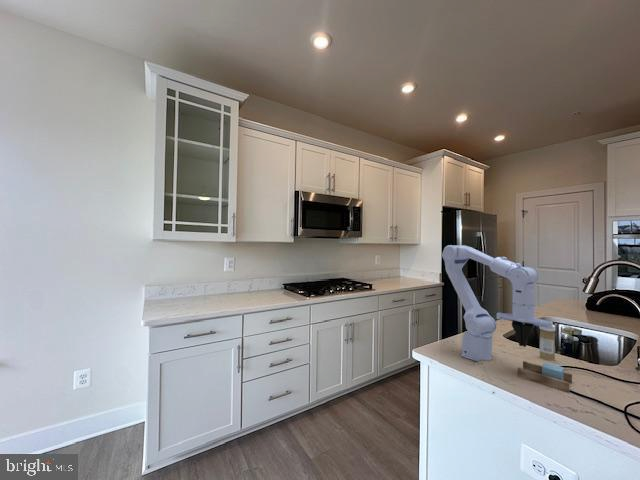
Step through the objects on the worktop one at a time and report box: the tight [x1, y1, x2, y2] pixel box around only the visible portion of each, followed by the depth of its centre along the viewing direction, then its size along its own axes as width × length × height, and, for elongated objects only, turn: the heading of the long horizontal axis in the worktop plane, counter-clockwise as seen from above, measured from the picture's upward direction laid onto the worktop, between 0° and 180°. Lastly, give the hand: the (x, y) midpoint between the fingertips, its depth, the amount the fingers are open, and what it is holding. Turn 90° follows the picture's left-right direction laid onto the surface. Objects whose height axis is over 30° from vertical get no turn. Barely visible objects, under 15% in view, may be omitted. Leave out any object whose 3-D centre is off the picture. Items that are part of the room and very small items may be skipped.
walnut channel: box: [517, 360, 573, 394], centre depth 84 cm, size 12×8×4 cm
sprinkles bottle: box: [538, 324, 556, 362], centre depth 100 cm, size 5×5×13 cm
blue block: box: [541, 362, 565, 380], centre depth 82 cm, size 4×4×4 cm
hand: (522, 345), depth 88 cm, fingers closed
